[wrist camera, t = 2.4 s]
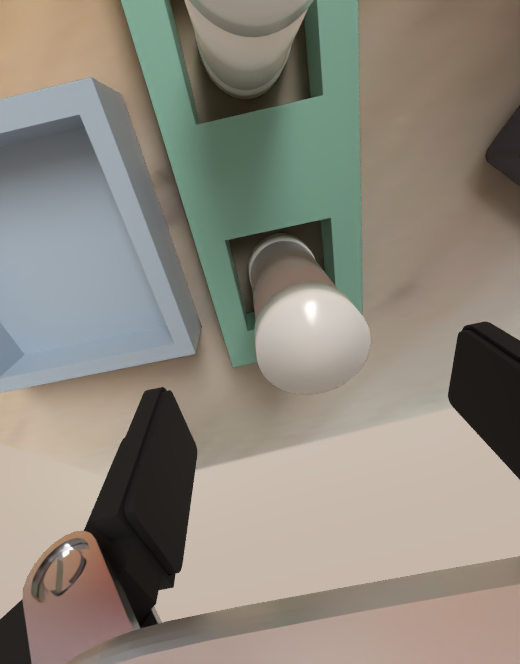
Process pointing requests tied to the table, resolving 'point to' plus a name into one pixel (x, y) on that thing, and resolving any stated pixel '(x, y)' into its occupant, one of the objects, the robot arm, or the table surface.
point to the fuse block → (263, 157)
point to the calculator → (507, 149)
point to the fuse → (245, 41)
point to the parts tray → (83, 243)
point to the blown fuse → (303, 320)
